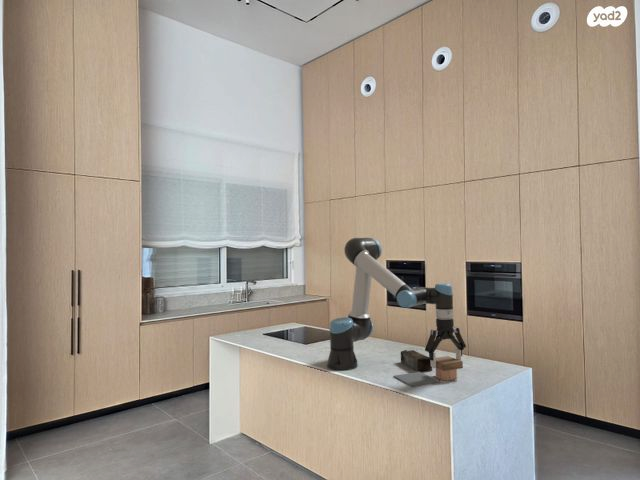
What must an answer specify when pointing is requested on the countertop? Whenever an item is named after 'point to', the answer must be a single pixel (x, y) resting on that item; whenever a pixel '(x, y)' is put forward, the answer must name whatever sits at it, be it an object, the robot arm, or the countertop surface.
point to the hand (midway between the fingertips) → (446, 365)
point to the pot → (446, 374)
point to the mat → (416, 379)
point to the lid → (448, 363)
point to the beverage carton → (416, 360)
